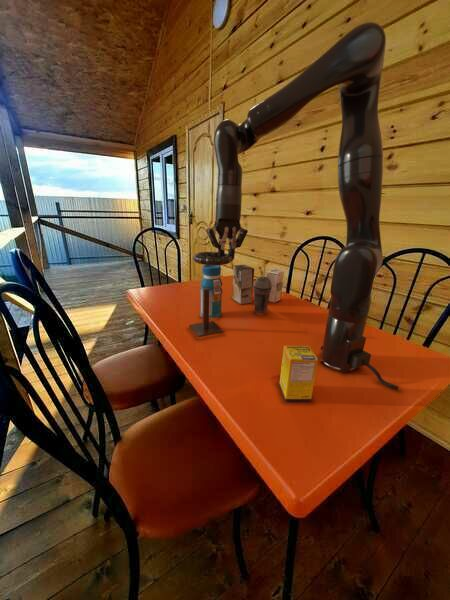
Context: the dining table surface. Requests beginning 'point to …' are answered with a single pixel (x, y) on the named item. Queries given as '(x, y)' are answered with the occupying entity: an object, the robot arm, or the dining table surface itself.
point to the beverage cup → (261, 293)
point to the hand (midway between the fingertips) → (226, 260)
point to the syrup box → (275, 284)
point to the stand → (205, 319)
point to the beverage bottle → (212, 289)
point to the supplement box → (298, 373)
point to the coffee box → (243, 284)
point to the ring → (212, 258)
